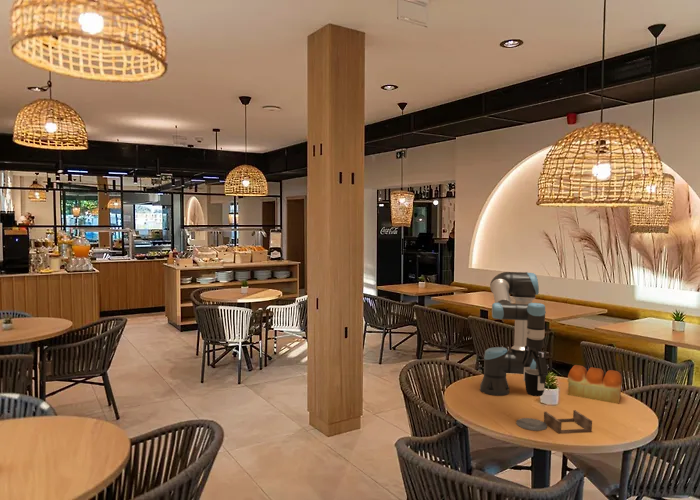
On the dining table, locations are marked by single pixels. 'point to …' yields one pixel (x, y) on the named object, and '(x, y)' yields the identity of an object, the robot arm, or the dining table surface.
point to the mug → (533, 382)
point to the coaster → (531, 424)
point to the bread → (595, 384)
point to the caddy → (577, 418)
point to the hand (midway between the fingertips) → (533, 385)
